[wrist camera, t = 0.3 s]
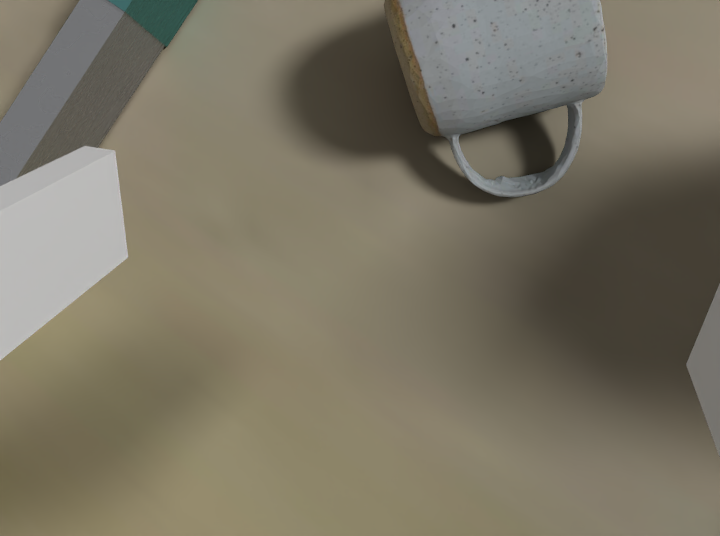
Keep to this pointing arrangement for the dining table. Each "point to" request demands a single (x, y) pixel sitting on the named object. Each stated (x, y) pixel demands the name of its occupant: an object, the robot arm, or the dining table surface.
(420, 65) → the ceramic mug
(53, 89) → the block
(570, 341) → the dining table surface
